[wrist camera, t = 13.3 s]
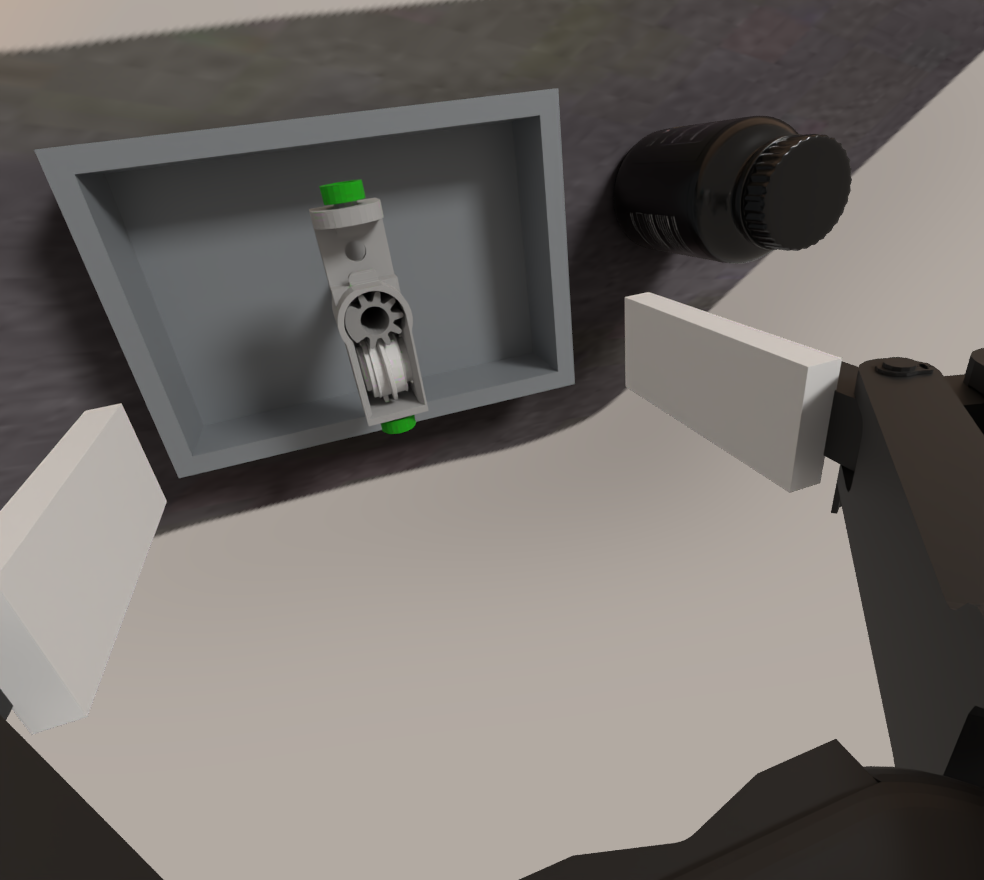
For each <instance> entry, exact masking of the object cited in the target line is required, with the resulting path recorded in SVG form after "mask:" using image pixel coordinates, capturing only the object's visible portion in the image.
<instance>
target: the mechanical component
mask: <svg viewBox="0 0 984 880" xmlns="http://www.w3.org/2000/svg"><path fill="white" fill-rule="evenodd" d="M319 188H320V191H321V195H322V199H323V203H324V205H329V206H323V207H318V208H312V209H309V213H310V217H311V221H312V224H313V228H314V232H315V236H316V239H317V243H318V247H319V250H320V254H321V258H322V261H323V265H324V269H325V272H326V276H327V280H328V284H329V287H330V291H331V295H332V310H333V314H334V317H335V320H336V323H337V326H338V330H339V333H340V335H341V337H342V339H343V341H344V343H345V347H346V350H347V353H348V357H349V361H350V364H351V368H352V372H353V375H354V379H355V383H356V386H357V390H358V393H359V396H360V400H361V403H362V406H363V409H364V413H365V416H366V419H367V422H368V425H369V426H373V425H376V424H380V423H381V427H382V431H383V432H385V433H388V434H398V433H403V432H406V431H408V430H410V429H412V428H413V427H414V426H415V425H416V420H415V414H418V413H422V412H426V411H429V410H428V406H427V401H426V396H425V391H424V387H423V382H422V377H421V372H420V367H419V363H418V358H417V353H416V348H415V344H414V339H413V334H412V326H413V316H412V312H411V309H410V307H409V304H408V303H407V301H406V300H405V298H404V297H403V296H402V295H401V292H400V287H399V282H398V278H397V276H396V275H395V274H394V270H393V266H392V261H391V256H390V252H389V247H388V242H387V238H386V233H385V228H384V224H383V219H382V218H383V217H384V215H383V211H382V206H381V201H380V199H378V198H369V199H364V198H366V197H365V192H364V188H363V183H362V180H361V179H360V180H350V181H343V182H337V183H332V184H327V185H322V186H319ZM361 199H363V200H361ZM357 200H358V201H357Z"/></svg>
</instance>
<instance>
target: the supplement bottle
mask: <svg viewBox="0 0 984 880" xmlns="http://www.w3.org/2000/svg"><path fill="white" fill-rule="evenodd" d="M851 181H852V179H851V167H850V159H849V158H848V157H847V154H846V150H844V149H843V148H842V145H841V143H837V142H836V140H835V139H834V138H829V137H828V136H827V135H818V134H809V135H800V134H798V133H797V132H796V131H795V130H794V129H793V128H792V127H791V126H790V125H788V124H787V123H785V122H784V121H782V120H780V119H777V118H774V117H769V116H752V117H744V118H737V119H730V120H723V121H716V122H709V123H702V124H695V125H688V126H681V127H675V128H669V129H664V130H659V131H656V132H654V133H651V134H649V135H647V136H646V137H644V138H643V139H642V140H640V141H639V142H638V143H637V144H636V145H635V146H634V147H633V148H632V149H631V150H630V151H629V153H628V154H627V155H626V157H625V159H624V160H623V162H622V164H621V166H620V168H619V171H618V174H617V177H616V181H615V186H614V208H615V213H616V217H617V220H618V222H619V224H620V226H621V228H622V230H623V231H624V232H625V234H626V235H627V236H628V237H629V238H630V239H631V240H632V241H634V242H635V243H637V244H639V245H641V246H643V247H646V248H650V249H655V250H659V251H665V252H670V253H675V254H681V255H686V256H692V257H697V258H702V259H708V260H713V261H718V262H724V263H735V264H739V263H746V262H751V261H754V260H757V259H759V258H761V257H763V256H765V255H767V254H769V253H770V252H772V251H773V250H777V249H779V250H787V251H788V250H795V251H798V250H801V249H802V248H803V249H806V248H808V247H809V246H811V245H815V244H816V243H817V242H818V241H819V240H821V239H824V237H825V236H826V234H827V233H829V232H830V231H831V230H832V228H833V226H834V225H835V224H836V223H837V222H838V220H839V217H840V216H841V215H842V213H843V211H844V207H845V205H846V204H847V202H848V195H849V193H850V184H851Z"/></svg>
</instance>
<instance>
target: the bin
mask: <svg viewBox="0 0 984 880" xmlns="http://www.w3.org/2000/svg"><path fill="white" fill-rule="evenodd" d="M34 151H35V153H36V155H37V157H38V160H39V162H40V164H41V166H42V169H43V171H44V173H45V176H46V178H47V180H48V182H49V185H50V187H51V189H52V191H53V194H54V196H55V198H56V201H57V203H58V205H59V207H60V210H61V212H62V214H63V216H64V219H65V221H66V223H67V226H68V228H69V230H70V232H71V235H72V237H73V239H74V241H75V244H76V246H77V248H78V251H79V253H80V255H81V257H82V260H83V262H84V264H85V266H86V269H87V271H88V273H89V276H90V278H91V280H92V282H93V285H94V287H95V289H96V291H97V294H98V296H99V298H100V301H101V303H102V305H103V307H104V310H105V312H106V314H107V316H108V319H109V321H110V323H111V326H112V328H113V330H114V332H115V335H116V337H117V339H118V341H119V344H120V346H121V348H122V351H123V353H124V355H125V357H126V360H127V362H128V364H129V366H130V369H131V371H132V373H133V375H134V378H135V380H136V382H137V385H138V387H139V389H140V391H141V394H142V396H143V398H144V400H145V403H146V405H147V407H148V410H149V412H150V414H151V416H152V419H153V421H154V423H155V425H156V428H157V430H158V432H159V435H160V437H161V439H162V441H163V444H164V446H165V448H166V450H167V453H168V455H169V457H170V460H171V462H172V464H173V466H174V469H175V471H176V473H177V475H178V478H183V477H187V476H191V475H195V474H199V473H203V472H208V471H212V470H216V469H220V468H224V467H229V466H233V465H237V464H241V463H245V462H250V461H254V460H258V459H262V458H266V457H270V456H275V455H279V454H283V453H287V452H291V451H296V450H300V449H304V448H308V447H312V446H317V445H321V444H325V443H329V442H333V441H338V440H342V439H346V438H350V437H354V436H358V435H363V434H367V433H371V432H375V431H379V430H382V427H381V423H380V424H376V425H373V426H369V425H368V422H367V419H366V416H365V413H364V409H363V406H362V403H361V400H360V396H359V393H358V390H357V386H356V383H355V379H354V375H353V372H352V368H351V364H350V361H349V357H348V353H347V350H346V347H345V343H344V341H343V339H342V337H341V335H340V333H339V330H338V326H337V323H336V320H335V317H334V314H333V310H332V295H331V291H330V287H329V284H328V280H327V276H326V272H325V269H324V265H323V261H322V258H321V254H320V250H319V247H318V243H317V239H316V236H315V232H314V228H313V224H312V221H311V217H310V213H309V209H312V208H318V207H323V206H329V205H324V203H323V199H322V195H321V191H320V188H319V186H322V185H327V184H332V183H337V182H343V181H350V180H360V179H361V180H362V183H363V188H364V192H365V197H366V198H364V199H369V198H378V199H380V201H381V206H382V211H383V215H384V217H383V218H382V219H383V224H384V228H385V233H386V238H387V242H388V247H389V252H390V256H391V261H392V266H393V270H394V274H395V275H396V276H397V278H398V282H399V287H400V292H401V295H402V296H403V297H404V298H405V300H406V301H407V303H408V304H409V307H410V309H411V312H412V316H413V326H412V334H413V339H414V344H415V348H416V353H417V358H418V363H419V367H420V372H421V377H422V382H423V387H424V391H425V396H426V401H427V406H428V410H429V411H426V412H422V413H418V414H415V420H416V422H417V421H421V420H425V419H430V418H434V417H438V416H442V415H446V414H451V413H455V412H459V411H463V410H467V409H472V408H476V407H480V406H484V405H488V404H493V403H497V402H501V401H505V400H509V399H513V398H518V397H522V396H526V395H530V394H534V393H539V392H543V391H547V390H551V389H555V388H560V387H564V386H568V385H572V384H575V377H574V359H573V342H572V324H571V306H570V289H569V271H568V253H567V236H566V218H565V200H564V183H563V165H562V147H561V130H560V112H559V94H558V88H556V89H548V90H539V91H531V92H522V93H514V94H505V95H497V96H488V97H479V98H471V99H462V100H454V101H445V102H437V103H428V104H420V105H411V106H403V107H394V108H386V109H377V110H369V111H360V112H351V113H343V114H334V115H326V116H317V117H309V118H300V119H292V120H283V121H275V122H266V123H258V124H249V125H241V126H232V127H223V128H215V129H206V130H198V131H189V132H181V133H172V134H164V135H155V136H147V137H138V138H130V139H121V140H112V141H104V142H95V143H87V144H78V145H70V146H61V147H53V148H44V149H36V150H34ZM361 200H363V199H361ZM357 201H358V200H357Z"/></svg>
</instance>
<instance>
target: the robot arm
mask: <svg viewBox="0 0 984 880" xmlns="http://www.w3.org/2000/svg"><path fill="white" fill-rule="evenodd" d="M625 378H626V387H627V388H628V389H630V390H632V391H633V392H635V393H636V394H638V395H639V396H641V397H642V398H644V399H645V400H647V401H649V402H650V403H652V404H653V405H655V406H656V407H658V408H660V409H661V410H662V411H664V412H666V413H667V414H669V415H670V416H672V417H673V418H675V419H676V420H678V421H680V422H681V423H683V424H684V425H686V426H687V427H689V428H690V429H692V430H694V431H695V432H697V433H698V434H700V435H701V436H703V437H704V438H706V439H707V440H709V441H710V442H712V443H714V444H715V445H717V446H718V447H720V448H721V449H723V450H724V451H726V452H727V453H729V454H731V455H732V456H734V457H735V458H737V459H739V460H740V461H741V462H743V463H745V464H746V465H748V466H749V467H751V468H752V469H754V470H755V471H757V472H758V473H760V474H762V475H763V476H765V477H766V478H768V479H769V480H771V481H772V482H774V483H775V484H777V485H779V486H780V487H782V488H783V489H785V490H786V491H788V492H794V491H797V490H800V489H803V488H806V487H809V486H812V485H815V484H818V483H820V481H821V475H822V469H823V464H824V458H825V456H826V457H828V458H830V459H832V460H833V461H835V462H837V463H839V464H840V468H839V474H838V479H837V484H836V489H835V495H834V500H833V505H832V510H831V513H837V512H838V509H839V507H841V506H842V509H843V514H844V519H845V523H846V529H847V533H848V538H849V543H850V548H851V553H852V558H853V563H854V567H855V572H856V577H857V582H858V587H859V592H860V597H861V601H862V606H863V611H864V616H865V621H866V626H867V630H868V635H869V640H870V645H871V650H872V655H873V659H874V664H875V669H876V674H877V679H878V684H879V689H880V693H881V698H882V703H883V708H884V713H885V718H886V723H887V728H888V732H889V737H890V741H891V747H892V752H893V757H894V764H895V767H872V766H870V767H863V766H862V765H861V764H860V763H859V762H858V761H857V760H856V759H855V758H854V757H853V756H852V755H851V754H850V753H849V752H848V751H847V750H846V749H845V748H844V747H843V746H842V745H841V744H840V743H839V742H838V741H837V739H834V740H832V741H830V742H828V743H825V744H823V745H821V746H819V747H816V748H814V749H812V750H810V751H808V752H805V753H803V754H801V755H798V756H796V757H794V758H792V759H789V760H787V761H785V762H783V763H780V764H778V765H776V766H774V767H771V768H769V769H767V770H765V771H762V772H760V773H758V774H757V775H755V777H753V778H752V779H751V780H750V781H749V782H748V783H747V784H746V785H745V786H744V787H743V788H742V789H741V790H740V791H739V792H738V793H737V794H735V796H733V797H732V798H731V799H730V800H729V801H728V802H727V803H726V804H725V805H724V806H723V807H722V808H721V809H720V810H719V811H718V812H717V813H716V814H714V816H713V817H711V818H710V819H709V820H708V821H707V822H706V823H705V824H704V825H703V826H702V827H701V828H700V829H699V830H698V831H697V832H696V833H694V834H693V835H692V836H691V837H690V838H688V839H686V840H684V841H681V842H678V843H672V844H664V845H655V846H647V847H639V848H631V849H623V850H615V851H607V852H599V853H591V854H583V855H575V856H571V857H569V858H567V859H565V860H562V861H560V862H558V863H556V864H554V865H551V866H549V867H546V868H544V869H542V870H540V871H538V872H535V873H533V874H531V875H529V876H526V877H524V878H522V879H519V880H984V348H981V349H978V350H975V351H973V352H972V354H971V356H970V359H969V363H968V367H967V370H966V373H965V374H964V375H953V376H943V375H942V373H941V372H940V371H939V370H938V369H936V368H935V367H934V366H931V365H930V364H928V363H923V362H918V361H914V360H912V359H908V358H900V357H892V358H883V359H874V360H869V361H866V362H864V363H862V364H860V365H859V367H856V366H854V365H850V364H848V363H845V362H842V358H840V357H837V356H834V355H831V354H828V353H825V352H822V351H819V350H817V349H814V348H810V347H808V346H805V345H802V344H799V343H796V342H793V341H790V340H787V339H784V338H781V337H778V336H775V335H772V334H770V333H767V332H764V331H761V330H758V329H755V328H752V327H749V326H746V325H743V324H740V323H737V322H734V321H732V320H729V319H726V318H723V317H720V316H717V315H714V314H711V313H708V312H705V311H702V310H699V309H696V308H694V307H691V306H688V305H685V304H682V303H679V302H676V301H673V300H670V299H667V298H664V297H661V296H658V295H655V294H653V293H650V292H646V293H642V294H637V295H632V296H628V297H625ZM166 502H167V501H166V498H165V496H164V494H163V492H162V490H161V488H160V486H159V483H158V481H157V479H156V477H155V475H154V473H153V470H152V468H151V466H150V464H149V462H148V460H147V457H146V455H145V453H144V451H143V449H142V447H141V444H140V442H139V440H138V438H137V436H136V434H135V431H134V429H133V427H132V425H131V423H130V421H129V419H128V416H127V414H126V412H125V410H124V408H123V406H122V403H120V404H115V405H111V406H106V407H101V408H96V409H92V410H87V411H85V412H84V413H83V414H82V415H81V416H80V418H79V419H78V420H77V421H76V422H75V423H74V425H73V426H72V427H71V428H70V429H69V431H68V432H67V433H66V434H65V435H64V436H63V438H62V439H61V440H60V441H59V442H58V444H57V445H56V446H55V447H54V448H53V449H52V451H51V452H50V453H49V454H48V455H47V457H46V458H45V459H44V460H43V461H42V462H41V464H40V465H39V466H38V467H37V468H36V470H35V471H34V472H33V473H32V474H31V475H30V477H29V478H28V479H27V480H26V481H25V483H24V484H23V485H22V486H21V487H20V489H19V490H18V491H17V492H16V493H15V494H14V496H13V497H12V498H11V499H10V500H9V502H8V503H7V504H6V505H5V506H4V507H3V509H2V510H1V511H0V880H163V879H162V878H161V877H160V876H159V875H158V874H157V873H156V872H155V871H154V870H153V869H152V868H151V867H150V866H149V865H148V864H147V863H146V862H145V861H144V860H143V859H142V858H141V857H140V856H139V855H138V853H137V852H136V851H135V850H133V849H132V847H131V846H130V845H129V844H127V842H125V840H124V839H123V838H122V837H121V836H120V835H119V834H118V833H117V832H116V831H115V830H114V829H113V828H111V826H110V825H109V824H108V823H107V822H106V821H104V819H103V818H102V817H101V816H100V815H99V814H98V813H97V812H96V811H95V810H94V809H93V808H92V807H91V806H90V805H89V804H88V803H87V802H86V801H85V800H84V799H83V798H82V797H81V796H80V795H79V794H78V793H77V792H76V791H75V790H74V789H73V788H72V787H71V786H70V785H69V784H68V783H67V782H66V781H65V780H64V779H63V778H62V777H61V776H60V775H59V774H58V773H57V772H56V771H55V770H54V769H53V768H52V767H51V766H50V765H49V764H48V763H47V762H46V761H45V760H44V759H43V758H42V757H41V756H40V755H39V754H38V753H37V752H36V751H35V750H34V749H33V748H32V747H31V746H30V745H29V744H28V743H27V742H26V741H25V739H23V737H22V736H20V734H19V733H18V732H16V730H15V729H13V728H12V727H11V726H10V724H9V723H8V722H7V721H6V719H7V717H8V715H9V713H10V711H11V709H12V710H13V711H14V713H15V714H16V715H17V716H18V718H19V719H20V720H21V721H22V723H23V724H24V726H25V727H26V728H27V729H28V730H29V732H30V733H31V734H32V735H33V734H35V733H39V732H42V731H45V730H48V729H51V728H54V727H58V726H61V725H64V724H67V723H70V722H73V721H76V720H79V719H83V718H86V717H87V716H88V714H89V711H90V708H91V706H92V703H93V700H94V697H95V695H96V692H97V689H98V687H99V684H100V681H101V678H102V676H103V673H104V670H105V668H106V665H107V662H108V659H109V657H110V654H111V651H112V649H113V646H114V643H115V640H116V638H117V635H118V632H119V630H120V627H121V624H122V622H123V619H124V616H125V613H126V611H127V608H128V605H129V603H130V600H131V597H132V594H133V592H134V589H135V586H136V584H137V581H138V578H139V575H140V573H141V570H142V567H143V565H144V562H145V559H146V557H147V554H148V551H149V548H150V546H151V543H152V540H153V538H154V535H155V532H156V529H157V527H158V524H159V521H160V519H161V516H162V513H163V511H164V508H165V505H166Z"/></svg>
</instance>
